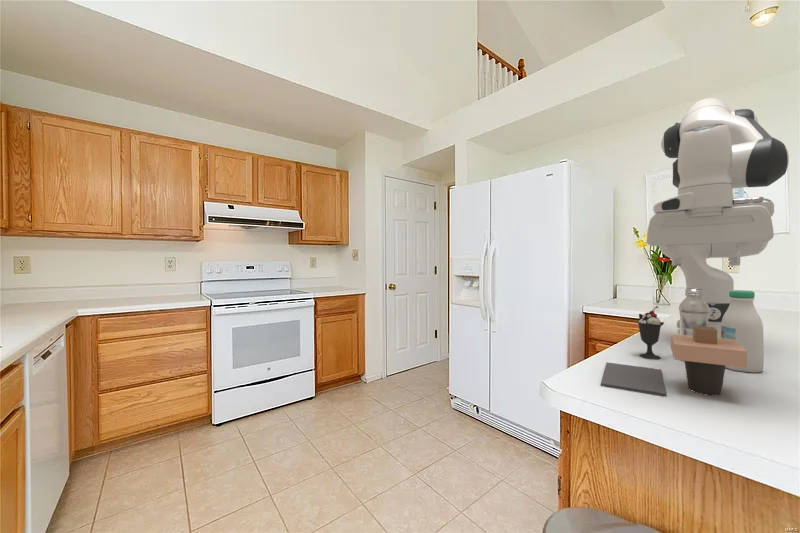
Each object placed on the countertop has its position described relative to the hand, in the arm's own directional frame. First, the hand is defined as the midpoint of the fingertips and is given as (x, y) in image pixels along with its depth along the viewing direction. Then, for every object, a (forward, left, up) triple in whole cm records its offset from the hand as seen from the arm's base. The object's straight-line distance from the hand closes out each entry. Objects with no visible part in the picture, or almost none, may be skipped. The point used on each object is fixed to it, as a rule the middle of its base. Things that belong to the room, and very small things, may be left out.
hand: (704, 265), depth 74 cm
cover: (0, 0, -17) cm, 17 cm away
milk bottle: (-23, +10, -28) cm, 37 cm away
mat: (-1, -13, -27) cm, 30 cm away
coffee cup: (0, 0, -28) cm, 28 cm away
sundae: (-24, -9, -28) cm, 38 cm away
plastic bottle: (-25, +1, -28) cm, 37 cm away
